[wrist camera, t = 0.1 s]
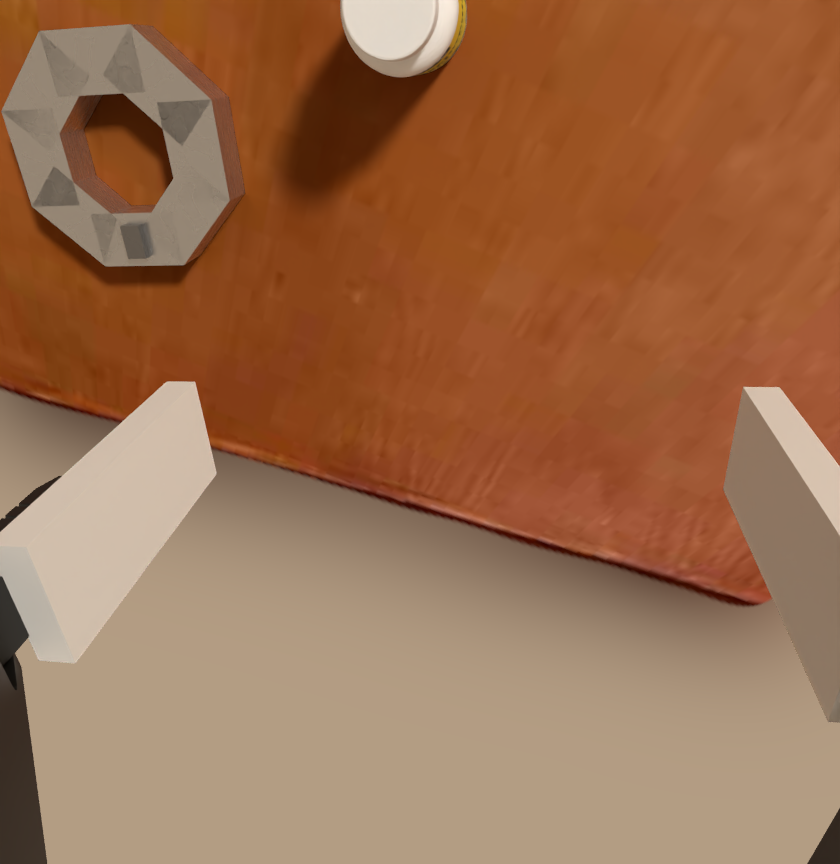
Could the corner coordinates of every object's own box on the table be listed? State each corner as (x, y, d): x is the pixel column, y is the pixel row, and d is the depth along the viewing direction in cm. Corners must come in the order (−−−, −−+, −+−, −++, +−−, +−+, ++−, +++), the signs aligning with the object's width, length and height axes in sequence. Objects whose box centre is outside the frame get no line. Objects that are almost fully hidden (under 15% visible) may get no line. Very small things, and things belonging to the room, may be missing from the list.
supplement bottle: (431, 95, 38) (403, 107, 30) (351, 32, 37) (299, 26, 29) (489, 1, 35) (477, -15, 27) (405, -69, 34) (366, -109, 26)
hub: (7, 36, 40) (-31, 35, 37) (215, 21, 38) (191, 18, 35) (73, 257, 46) (45, 270, 43) (255, 253, 44) (237, 266, 41)
